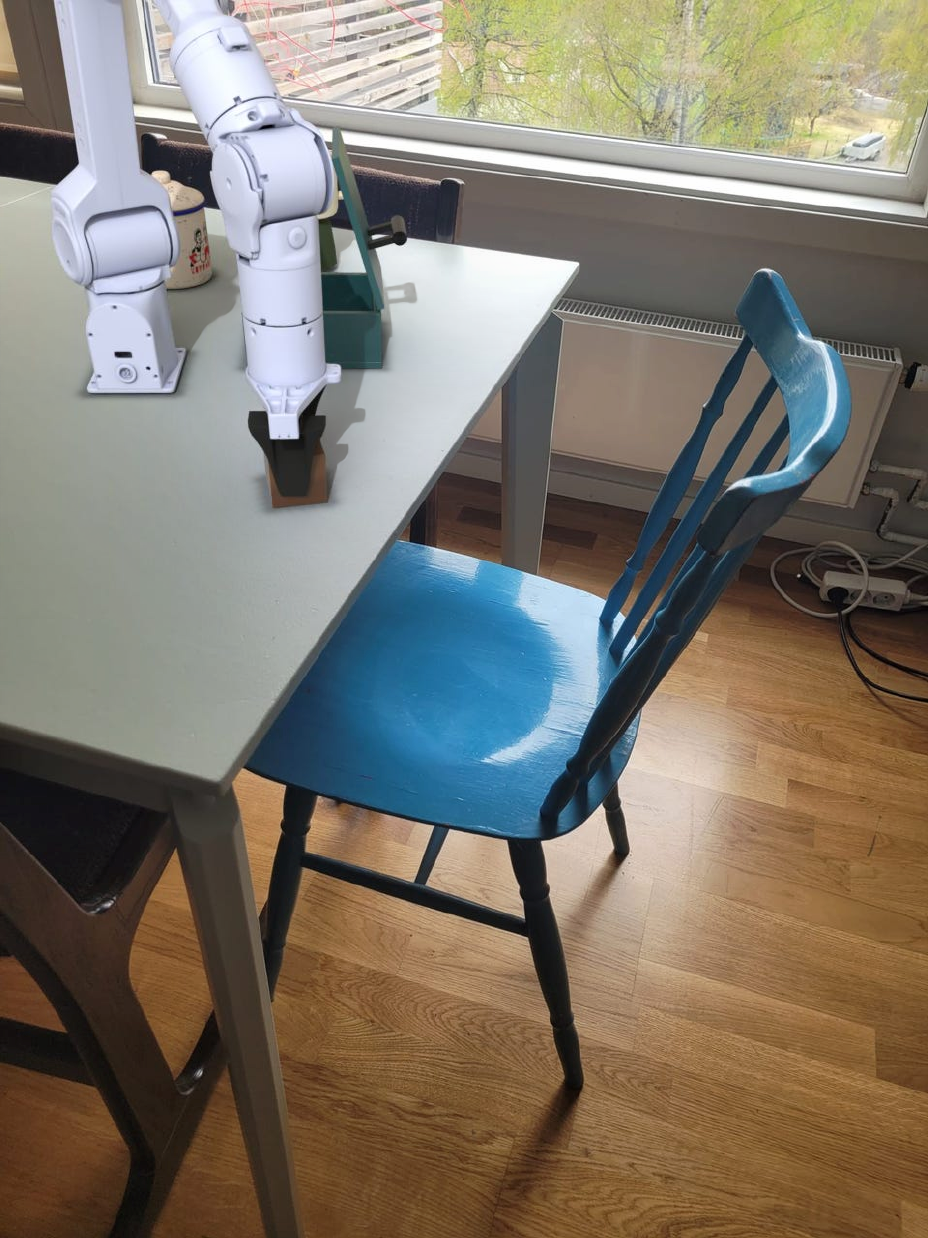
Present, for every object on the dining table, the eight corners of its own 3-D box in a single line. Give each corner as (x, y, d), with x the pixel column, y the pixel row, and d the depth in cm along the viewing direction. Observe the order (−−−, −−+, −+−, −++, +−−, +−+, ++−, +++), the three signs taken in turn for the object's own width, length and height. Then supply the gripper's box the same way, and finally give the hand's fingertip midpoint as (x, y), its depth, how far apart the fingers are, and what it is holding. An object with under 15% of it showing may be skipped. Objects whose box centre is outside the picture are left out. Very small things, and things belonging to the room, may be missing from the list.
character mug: (348, 255, 122) (345, 145, 114) (362, 275, 117) (359, 160, 109) (262, 261, 119) (253, 148, 111) (272, 281, 114) (263, 164, 106)
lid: (331, 158, 84) (380, 144, 84) (332, 127, 93) (376, 114, 93) (377, 310, 93) (422, 298, 93) (374, 269, 102) (415, 258, 102)
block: (327, 502, 77) (325, 454, 74) (272, 508, 76) (267, 459, 73) (318, 474, 80) (316, 427, 78) (266, 480, 79) (261, 432, 77)
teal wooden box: (247, 368, 96) (241, 312, 92) (255, 323, 104) (250, 270, 101) (381, 368, 97) (381, 313, 93) (378, 324, 106) (378, 272, 102)
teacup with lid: (210, 291, 111) (197, 184, 104) (129, 290, 110) (110, 182, 103) (220, 256, 120) (208, 155, 113) (145, 255, 119) (129, 154, 112)
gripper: (338, 354, 64) (345, 525, 72) (339, 276, 75) (344, 432, 83) (230, 354, 63) (250, 526, 72) (247, 275, 74) (262, 433, 83)
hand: (295, 476), depth 77 cm, fingers closed on block, 5 cm apart
